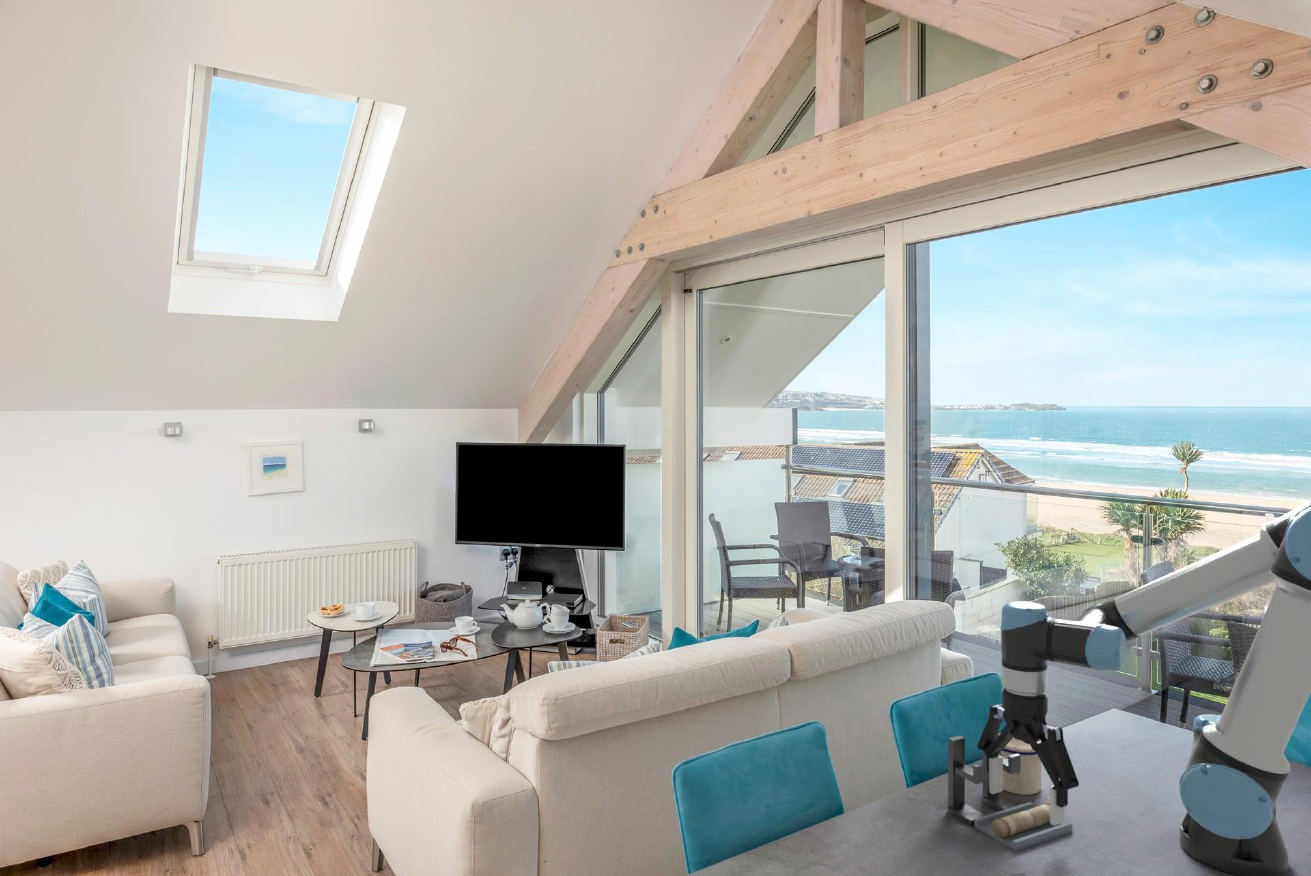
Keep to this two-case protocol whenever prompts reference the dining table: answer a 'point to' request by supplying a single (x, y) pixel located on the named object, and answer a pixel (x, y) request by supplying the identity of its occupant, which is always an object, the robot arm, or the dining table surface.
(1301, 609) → the robot arm
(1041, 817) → the wooden cylinder
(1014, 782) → the teacup with lid
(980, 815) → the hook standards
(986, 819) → the tray
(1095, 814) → the dining table surface
